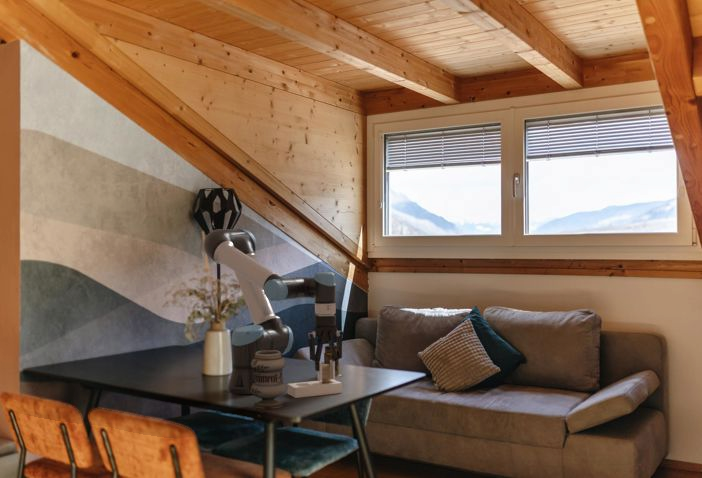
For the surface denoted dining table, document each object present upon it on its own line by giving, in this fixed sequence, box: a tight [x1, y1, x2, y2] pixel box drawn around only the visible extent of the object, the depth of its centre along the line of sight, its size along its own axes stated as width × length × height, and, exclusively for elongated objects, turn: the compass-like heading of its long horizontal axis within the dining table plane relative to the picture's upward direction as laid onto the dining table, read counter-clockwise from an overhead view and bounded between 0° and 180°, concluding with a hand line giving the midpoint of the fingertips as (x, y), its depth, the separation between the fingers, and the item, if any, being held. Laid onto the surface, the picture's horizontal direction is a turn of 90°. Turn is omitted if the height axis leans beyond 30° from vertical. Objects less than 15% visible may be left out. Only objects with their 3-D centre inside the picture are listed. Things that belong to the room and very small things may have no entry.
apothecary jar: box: [250, 350, 288, 410], centre depth 239 cm, size 12×12×18 cm
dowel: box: [322, 363, 331, 384], centre depth 260 cm, size 3×3×10 cm
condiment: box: [323, 345, 343, 378], centre depth 292 cm, size 7×8×12 cm
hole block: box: [286, 378, 343, 399], centre depth 258 cm, size 18×8×4 cm, turn 115°
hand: (326, 379), depth 260 cm, fingers open, 4 cm apart
